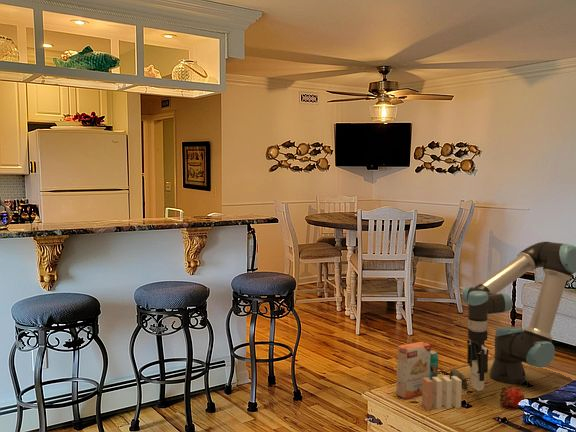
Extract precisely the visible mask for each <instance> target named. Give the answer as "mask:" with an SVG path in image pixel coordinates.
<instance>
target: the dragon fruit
mask: <svg viewBox="0 0 576 432" xmlns="http://www.w3.org/2000/svg"><path fill="white" fill-rule="evenodd" d="M499 397H500V398H499V401H500V402H502V404H503V405H504V406H505V407H507V408H510V407H513V408H516V409H518V408H519V406H518V403H519V402H520V401H521V400H524V399H525V395H524V391H523V389H520V388H519V387H517V386H514V387H513V386H507V387H506V386H505V387H502V388H501V390H500V391H499ZM524 401H525V400H524Z"/></svg>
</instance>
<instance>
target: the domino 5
mask: <svg viewBox="0 0 576 432" xmlns="http://www.w3.org/2000/svg"><path fill="white" fill-rule="evenodd" d="M477 372H478V363H477V360H472V383H471V387H472V388H474V389H475V390H476V391H477V392H478V391H479V392H480V391H483V388H479V389H478V388H477Z"/></svg>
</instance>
